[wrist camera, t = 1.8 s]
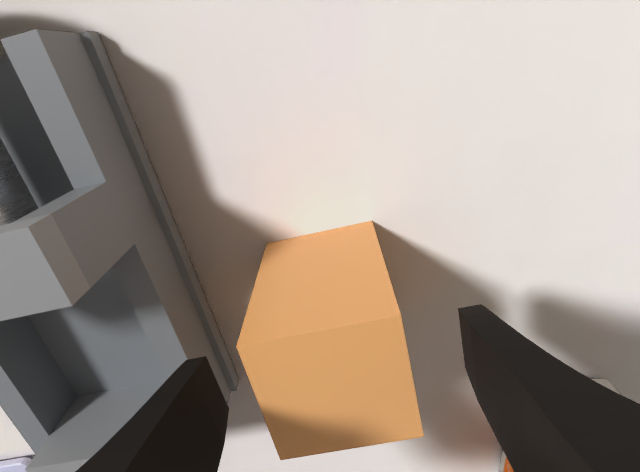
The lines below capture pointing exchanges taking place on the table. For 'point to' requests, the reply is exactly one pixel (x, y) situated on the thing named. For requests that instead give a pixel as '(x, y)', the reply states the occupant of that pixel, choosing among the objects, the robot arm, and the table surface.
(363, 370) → the block
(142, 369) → the housing
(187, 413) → the robot arm
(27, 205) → the shaft
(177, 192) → the table surface
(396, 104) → the table surface
